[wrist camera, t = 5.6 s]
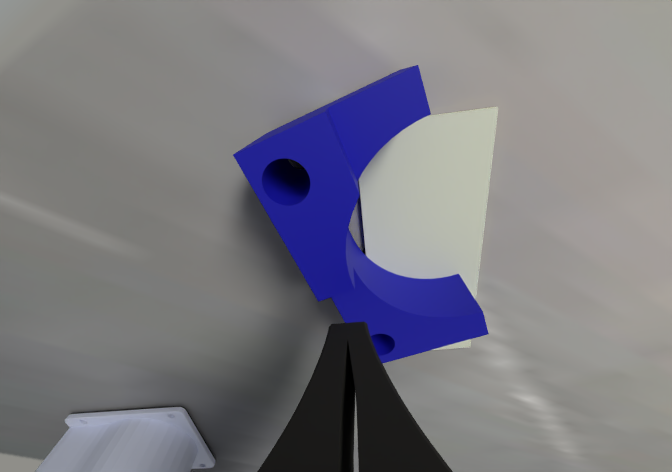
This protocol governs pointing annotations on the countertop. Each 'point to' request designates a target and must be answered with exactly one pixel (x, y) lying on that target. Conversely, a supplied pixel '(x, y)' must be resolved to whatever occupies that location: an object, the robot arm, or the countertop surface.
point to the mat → (431, 198)
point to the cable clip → (336, 210)
